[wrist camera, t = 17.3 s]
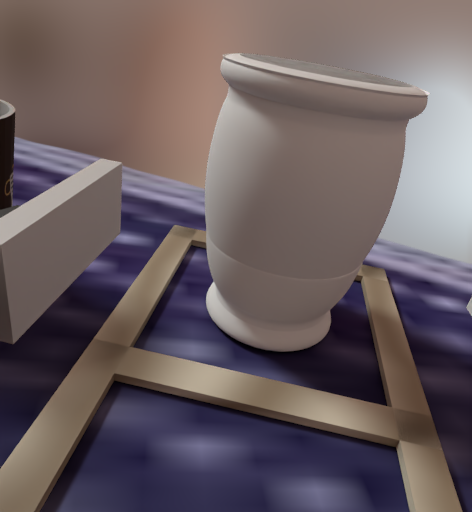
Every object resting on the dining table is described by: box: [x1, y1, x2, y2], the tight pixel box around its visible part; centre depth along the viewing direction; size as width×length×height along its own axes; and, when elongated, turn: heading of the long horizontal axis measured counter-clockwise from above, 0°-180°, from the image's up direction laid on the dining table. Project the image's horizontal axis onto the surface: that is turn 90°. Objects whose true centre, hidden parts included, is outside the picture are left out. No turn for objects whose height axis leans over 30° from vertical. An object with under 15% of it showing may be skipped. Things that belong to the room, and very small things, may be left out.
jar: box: [205, 53, 430, 352], centre depth 25 cm, size 11×10×15 cm
